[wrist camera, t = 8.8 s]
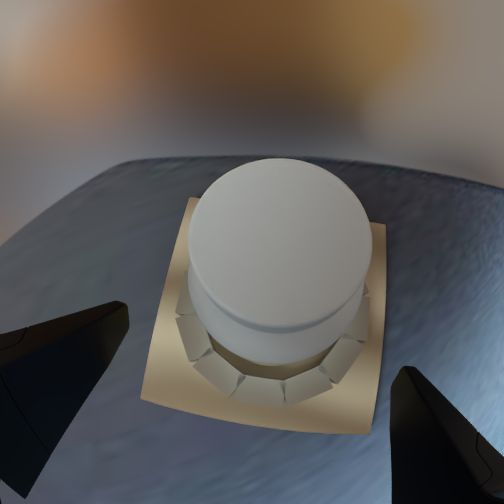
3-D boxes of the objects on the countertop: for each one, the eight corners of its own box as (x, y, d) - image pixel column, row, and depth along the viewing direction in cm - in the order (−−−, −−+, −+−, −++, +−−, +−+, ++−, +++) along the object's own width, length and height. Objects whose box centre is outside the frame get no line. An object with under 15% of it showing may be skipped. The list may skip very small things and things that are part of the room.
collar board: (365, 432, 15) (376, 437, 13) (145, 397, 16) (132, 399, 14) (381, 229, 20) (391, 216, 18) (192, 203, 21) (185, 187, 20)
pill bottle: (309, 256, 19) (354, 128, 8) (333, 352, 16) (432, 321, 6) (212, 274, 18) (155, 157, 8) (228, 374, 16) (172, 382, 6)
